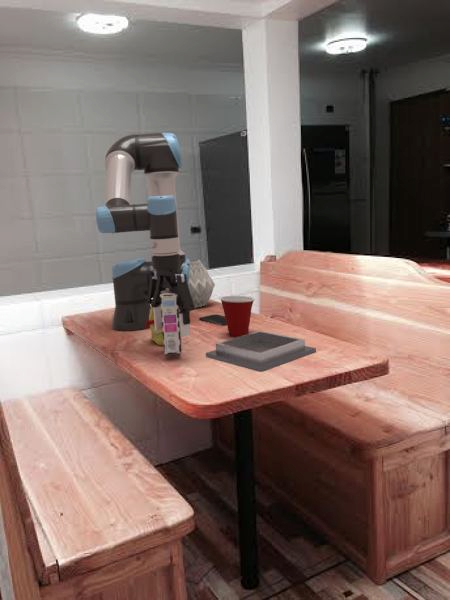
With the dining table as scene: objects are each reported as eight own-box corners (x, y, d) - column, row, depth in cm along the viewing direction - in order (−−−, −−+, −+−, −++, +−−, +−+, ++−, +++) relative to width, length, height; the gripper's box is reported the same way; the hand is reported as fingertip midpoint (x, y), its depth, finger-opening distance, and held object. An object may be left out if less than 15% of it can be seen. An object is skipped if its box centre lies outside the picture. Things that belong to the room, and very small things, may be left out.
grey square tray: (206, 356, 145) (205, 344, 145) (260, 339, 159) (259, 328, 158) (261, 371, 130) (260, 357, 129) (315, 351, 143) (315, 339, 143)
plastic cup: (262, 336, 163) (260, 297, 161) (229, 341, 160) (226, 301, 157) (249, 328, 173) (247, 292, 171) (217, 333, 170) (215, 296, 167)
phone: (215, 314, 195) (240, 319, 183) (215, 317, 195) (241, 323, 183) (197, 317, 191) (222, 324, 179) (197, 321, 191) (222, 327, 179)
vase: (224, 304, 216) (221, 258, 212) (194, 312, 204) (191, 264, 201) (196, 300, 227) (193, 257, 223) (167, 308, 215) (163, 262, 212)
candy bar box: (182, 354, 144) (177, 294, 140) (164, 355, 143) (158, 295, 140) (182, 342, 154) (178, 286, 151) (165, 344, 154) (160, 288, 151)
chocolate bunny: (163, 337, 169) (159, 290, 167) (174, 344, 160) (170, 295, 157) (142, 340, 167) (137, 293, 164) (152, 348, 157) (148, 298, 154)
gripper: (130, 253, 150) (137, 328, 154) (181, 257, 132) (187, 342, 137) (152, 250, 155) (158, 323, 159) (204, 254, 137) (210, 336, 142)
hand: (172, 332), depth 148 cm, fingers closed on candy bar box, 11 cm apart
